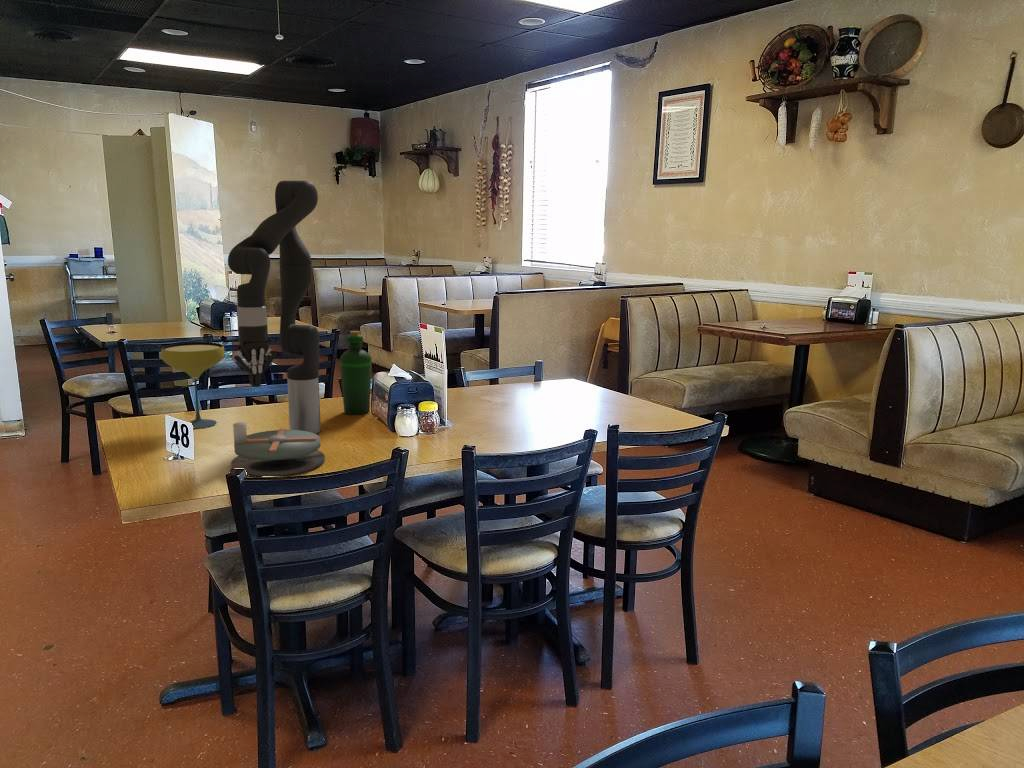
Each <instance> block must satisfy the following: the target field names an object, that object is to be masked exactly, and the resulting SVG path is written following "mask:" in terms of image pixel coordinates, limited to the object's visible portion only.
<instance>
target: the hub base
mask: <svg viewBox="0 0 1024 768" xmlns="http://www.w3.org/2000/svg"><path fill="white" fill-rule="evenodd" d="M325 460H326V457H325V454H324V453H323V452H322V451H321V450H319V449H318V450H316V451H315V452H313V453H310V454H308V455H305V456H301V457H296V458H291V459H283V460H253V459H247V458H243V457H240V456H238V455H237V456H235V457H234V458H233V459H232V460H231V463H230V465H231V469H232V468H233V469H234V468H244V469H245V470H246V472H247V476H246V477H250V478H259V477H262V476H287V477H291V476H292V477H293V476H298V475H302V473H303V474H306V473H309V472H312V471H315V470H317V469H319V468H320V467H322V465H324V463H325V462H326V461H325ZM248 475H249V476H248Z"/></svg>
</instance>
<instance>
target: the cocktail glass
mask: <svg viewBox="0 0 1024 768" xmlns="http://www.w3.org/2000/svg"><path fill="white" fill-rule="evenodd" d="M160 355H161V359H162V361H163V362H164V363H165V364H166V365H167V366H170V367H172V368H175V369H177V370H179V371H182V372H183V373H184V372H185V373H186V374H187V375H188V376H189V377H190V378H191V379H192V380H194V392H195V393H194V394H195V409H196V410H195V412H196V413H195V419H192V421H190V420H189V421H190V422H191V423H192V425H193V427H194V429H193V430H197V429H196V428H202V429H206V428H205V427H208V428H210V427H209V426H212V427H214V426H216V425H217V424H216V423H218V421H216V420H215V419H205V418H202V417H201V413H200V409H199V408H200V407H199V397H198V382H197V380H198V379H199V378H200V377H201V376H202V374H203V372H205V371H207V370H209V369H210V368H212V367H214V366H216V365H217V364H219V363H220V362H221V361H222V360H223V359H224V357H225V347H224V345H223V344H221V343H216V342H205V341H202V342H184V343H175V344H169V345H168V344H167V345H165V346H163V347H161V351H160ZM215 424H216V425H215ZM213 425H214V426H213Z"/></svg>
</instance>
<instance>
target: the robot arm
mask: <svg viewBox="0 0 1024 768" xmlns="http://www.w3.org/2000/svg"><path fill="white" fill-rule="evenodd" d="M318 200H319V195H318V190H317V188H316V186H315V185H314V183H313V182H311V181H307V180H280V181H279V182H278V183H277V185H276V186H275V191H274V202H275V203H274V204H275V211H276V212H275V213H273V214H272V215H270V216H268V217H267V218H265V219H264V220H263V221H261V223H260V224H259V225H258V226H257V227H256V229H255V230H254V231H253V232H252V234H250V235H249V236H248V237H246V238H245V239H243V240H242V241H240V242H239V243H237V244H236V245H235V246H234V247H233V248H231V250H230V252H229V254H228V256H227V265H228V268H229V269H230V271H232V272H233V273H235V274H237V275H251V277H250V279H249V282H247V283H241V284H240V285H238V286H237V288H236V299H237V300H236V301H237V311H236V312H237V313H236V317H237V318H236V319H237V320H236V321H237V337H238V342H239V343H238V347H237V349H238V350H237V351H236V353H234V354H231V355H230V359H231V361H233V362H234V363H235V364H236V365H237V367H238V368H239V369H240V370H241V371H242V372H245V373H248V379H249V385H250V386H251V387H252V388H259V387H261V385H262V383H263V380H262V379H263V378H262V373H263V372H264V371H267V370H268V369H269V367H270V366H271V364H272V362H273V361H274V359H275V357H276V356H277V354H278V352H277V350H273V349H272V348H271V347H270V344H269V342H268V340H269V331H268V330H269V329H268V313H267V308H266V287H267V281H268V276H269V274H270V269H271V259H270V256H271V255H272V254H273V253H274V252H275V250H277V248H278V246H279V280H280V283H279V284H280V321H279V346H280V349H281V352H282V353H283V354H284V355H287V356H301V357H303V360H302V362H301V363H299V364H296V365H292V366H290V367H289V368H287V370H286V376H287V380H286V381H287V398H288V421H289V430H300V431H307V432H311V433H314V434H318V433H320V432H321V407H320V406H321V405H320V403H321V402H320V381H319V380H320V379H319V370H320V334H319V330H318V328H317V326H315V325H308V324H296V317H297V316H296V315H297V312H298V308H299V306H300V303H301V302H302V300H303V299H304V297H305V296H306V294H307V292H308V291H309V289H310V287H311V285H312V281H313V263H312V257H311V254H310V252H309V250H308V249H307V247H306V245H305V244H304V241H302V240H303V239H301V237H300V235H299V233H298V231H297V227H296V226H297V225H298V224H300V223H301V222H302V221H303V220H304V219H306V217H308V215H310V214H311V213H312V212H313V211H314V210H315V209H316V206H317V205H318ZM243 359H244V360H245V361H244V360H243Z"/></svg>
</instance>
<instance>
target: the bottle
mask: <svg viewBox="0 0 1024 768" xmlns="http://www.w3.org/2000/svg"><path fill="white" fill-rule="evenodd" d="M360 333H361V331H360V330H350V331H349V334H348V335H347V339H346V343H347V344H348V349H347V350H345V351H344V352H343V353H342V354H341V356H340V358H339V367H340V376H341V377H340V379H341V380H340V381H341V389H342V400H343V411H344V413H346V414H347V415H352V416H354V415H356V416H358V415H359V416H360V415H364V414H368V413H369V412H370V411H371V388H372V387H371V384H372V383H371V382H372V356H371V355H370V354H369V352H367V351H366V350H364V349H362V347H363V345H362V344H363V343H364V339H363V337H364V336H363V335H362V334H360Z"/></svg>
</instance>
